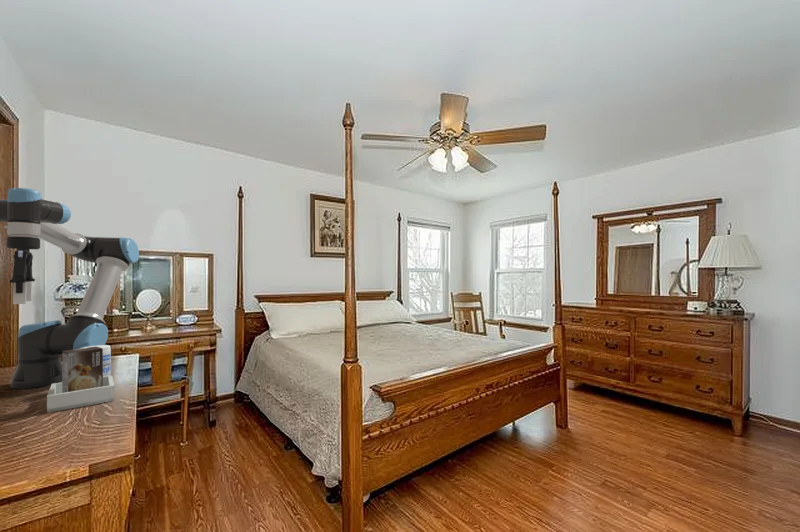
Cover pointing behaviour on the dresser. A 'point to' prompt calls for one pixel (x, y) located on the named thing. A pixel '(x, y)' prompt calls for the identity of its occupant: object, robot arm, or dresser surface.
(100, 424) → the dresser surface
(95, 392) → the tote
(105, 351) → the supplement tub
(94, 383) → the coffee box
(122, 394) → the dresser surface
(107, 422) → the dresser surface
